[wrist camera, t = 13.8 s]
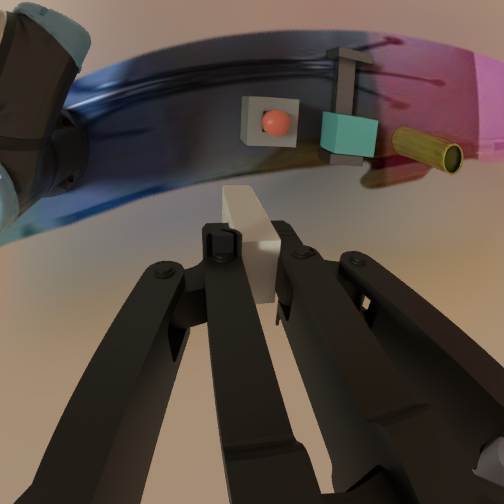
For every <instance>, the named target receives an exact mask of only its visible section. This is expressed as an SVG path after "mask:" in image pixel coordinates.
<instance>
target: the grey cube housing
mask: <svg viewBox="0 0 504 504" xmlns="http://www.w3.org/2000/svg"><path fill="white" fill-rule="evenodd" d="M269 110H280V111H283V112H285V113H286V114H287V115H288V116H289V118H290V122H291V125H290V128H289V130H288V132H287V133H286V134H284V135H282V136H278V137H276V136H272V135H270V134H268V133H266V132H265V131H264V130H263V128H262V125H261V120H262V117H263V115H264V114H265V113H266V112H267V111H269ZM298 113H299V100H297V99H286V98H273V97H256V96H242V107H241V132H240V139H241V140H242V141H243V142H244V143H245V144H246V145H247V146H279V147H296V139H297V126H298Z"/></svg>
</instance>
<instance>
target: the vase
mask: <svg viewBox="0 0 504 504" xmlns="http://www.w3.org/2000/svg"><path fill="white" fill-rule="evenodd" d="M392 144H393V148H394V150H395V151H396V153H397V154H399V155H401V156H406V157H409V158H411V159H414V160H416V161H419V162H422V163H425V164H427V165H429V166H432V167H434V168H437V169H439V170H442V171H444V172H446V173H448V174H450V175H454V174H456V173H457V172H458V171H459V170H460V168H461V166H462V163H463V152H462V149H461V147H460V146H459V145H457V144H455V143H452V142H449V141H447V140H444V139H441V138H438V137H435V136H432V135H429V134H426V133H423V132H421V131H418V130H415V129H412V128H410V127H408V126H401V127H399V128H398V129H397V130H396V131H395V132H394V135H393V139H392Z"/></svg>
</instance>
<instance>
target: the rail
mask: <svg viewBox="0 0 504 504" xmlns="http://www.w3.org/2000/svg"><path fill="white" fill-rule="evenodd" d="M326 59H329V60H334V73H333V88H332V101H331V112H332V113H338V114H345V115H352V105H353V93H354V79H355V65H368V64H372V63H373V55H370V54H367V53H363V52H359V51H355V50H351V49H347V48H343V47H337V48H333V49H330V50H326ZM318 157H319V158H320V159H322V160H324V161H326V162H327V163H329V164H340V165H352V166H362V163H363V157H362V156H357V155H348V154H337V153H333V152H331V151H329V150H327V149H323V148H319V154H318Z"/></svg>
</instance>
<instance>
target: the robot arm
mask: <svg viewBox="0 0 504 504" xmlns="http://www.w3.org/2000/svg"><path fill="white" fill-rule="evenodd" d="M90 45H91V39H90V35H89V33H88V32H87V31H86V30H85V29H84V28H83V27H82V26H81V25H79V24H78V23H76V22H75V21H73V20H72V19H70V18H68V17H67V16H65V15H63V14H61V13H59V12H56V11H54V10H51V9H47V8H45V7H43V6H41V5H38V4H35V3H30V2H22V3H20V4H19V5H18V6H17V7H15V8H14V10H13V12H8V11H3V10H0V233H1V232H2V231H3V230H4V229H6V228H8V227H10V226H12V225H13V224H14V223H15V221H16V220H17V219H18V218H19V217H20V216H21V215H22V214H23V213H24V212H25V211H27V210H28V209H29V208H30V207H31V206H32V205H34V204H35V203H36V202H37V201H38V200H40V199H41V198H45V197H54V196H57V195H60V194H62V193H64V192H65V191H67V190H68V189H69V188H71V187H72V186H73V185H74V184H75V183H76V182H77V181H78V180H79V178H80V177H81V175H82V174H83V172H84V170H85V167H86V164H87V160H88V152H89V147H88V139H87V135H86V132H85V130H84V127H83V126H82V124H81V122H80V121H79V120H78V119H77V118H76V117H75V116H74V115H73V114H72V113H70V112H68V111H66V110H63V109H62V107H63V105H64V102H65V100H66V98H67V95H68V93H69V91H70V88H71V86H72V84H73V82H74V80H75V77H76V75H77V74H78V73H80V71H81V68H82V66H81V65H82V63H83V61H84V59H85V57H86V55H87V53H88V50H89V48H90ZM222 199H223V201H222V223H207V224H205V226H204V227H203V228H202V241H203V260H202V261H201V262H200V263H199V264H198V265H196V266H194V267H192V268H189V269H185V270H184V268H183V266H182V265H181V264H179V263H177V262H173V261H161V262H157V263H154V264H152V265H150V266H149V267H148V268H147V269H146V270H145V272H144V273H143V275H142V276H141V278H140V279H139V281H138V282H137V284H136V285H135V287H134V289H133V290H132V292H131V293H130V295H129V297H128V298H127V300H126V301H125V303H124V305H123V306H122V308H121V310H120V311H119V313H118V314H117V316H116V318H115V319H114V321H113V323H112V324H111V326H110V328H109V329H108V331H107V333H106V334H105V336H104V338H103V340H102V341H101V343H100V345H99V346H98V348H97V350H96V352H95V354H94V355H93V357H92V359H91V361H90V362H89V364H88V366H87V368H86V370H85V372H84V373H83V375H82V377H81V379H80V381H79V383H78V385H77V387H76V389H75V391H74V392H73V394H72V396H71V398H70V400H69V402H68V404H67V407H66V408H65V410H64V412H63V415H62V416H61V418H60V421H59V423H58V425H57V427H56V429H55V431H54V433H53V436H52V438H51V440H50V442H49V444H48V447H47V449H46V451H45V453H44V456H43V458H42V461H41V463H40V465H39V468H38V470H37V473H36V475H35V477H34V480H33V483H32V484H31V486H30V487H29V488H28V489H27V490H26V491H25V492H24V493H23V494H22V495H21V496H20V497H19V498H18V499H17V500H16V501H15V502H14V504H140V502H141V499H142V495H143V491H144V487H145V483H146V479H147V476H148V472H149V468H150V464H151V461H152V457H153V454H154V450H155V446H156V443H157V439H158V436H159V432H160V429H161V425H162V422H163V419H164V415H165V412H166V408H167V405H168V402H169V398H170V395H171V391H172V388H173V385H174V382H175V379H176V375H177V372H178V369H179V366H180V362H181V359H182V356H183V353H184V350H185V347H186V344H187V340H188V337H189V334H190V327H193V326H196V325H199V324H203V323H206V322H207V326H208V337H209V348H210V358H211V369H212V378H213V387H214V396H215V405H216V412H217V421H218V429H219V436H220V443H221V450H222V457H223V464H224V470H225V477H226V483H227V490H228V496H229V502H230V504H504V368H503V367H502V366H501V365H500V364H499V363H498V362H497V361H496V360H495V359H493V357H491V356H490V355H489V354H488V353H487V352H486V351H485V350H484V349H483V348H482V347H480V346H479V345H478V344H477V343H476V342H475V341H474V340H473V339H471V338H470V337H469V336H468V335H467V334H466V333H464V332H463V331H462V330H461V329H460V328H459V327H458V326H456V325H455V324H454V323H453V322H452V321H451V320H449V319H448V318H447V317H446V316H444V315H443V314H442V313H441V312H440V311H438V310H437V309H436V308H435V307H434V306H433V305H431V304H430V303H429V302H427V301H426V300H425V299H424V298H423V297H421V296H420V295H419V294H418V293H416V292H415V291H414V290H413V289H411V288H410V287H409V286H407V285H406V284H405V283H404V282H402V281H401V280H400V279H399V278H397V277H396V276H395V275H393V274H392V273H390V272H389V271H388V270H387V269H385V268H384V267H383V266H381V265H380V264H379V263H378V262H376V261H375V260H374V259H372V258H371V257H369V256H367V255H366V254H363V253H361V252H358V251H357V252H356V251H349V252H345V253H343V254H342V255H341V257H340V262H336V261H328V260H324V259H323V258H322V256H321V255H320V254H319V252H318V251H317V250H315V249H314V248H312V247H309V246H305V245H303V243H302V242H301V240H300V239H299V237H298V236H297V234H296V233H295V231H294V230H293V228H292V227H291V225H290V224H288V223H286V222H285V221H270V220H269V218H268V216H267V214H266V212H265V211H264V209H263V207H262V205H261V203H260V202H259V200H258V198H257V196H256V195H255V193H254V191H253V189H252V188H251V186H250V185H234V186H232V185H231V186H223V195H222ZM275 292H276V293H277V296H278V298H279V299H278V307H277V315H276V325H279V320H280V319H281V321H282V324H283V327H284V330H285V332H286V335H287V338H288V340H289V344H290V346H291V349H292V352H293V355H294V358H295V360H296V363H297V366H298V369H299V372H300V374H301V377H302V380H303V383H304V386H305V388H306V391H307V394H308V397H309V400H310V402H311V405H312V408H313V411H314V413H315V417H316V419H317V422H318V425H319V428H320V431H321V434H322V436H323V439H324V442H325V445H326V448H327V450H328V453H329V456H330V459H331V463H332V484H333V488H334V492H335V493H329V494H321V491H320V488H319V485H318V482H317V479H316V476H315V473H314V470H313V467H312V463H311V460H310V458H309V455H308V453H307V450H306V448H305V447H304V446H303V444H302V443H300V442H298V441H296V439H295V437H294V435H293V432H292V429H291V425H290V422H289V419H288V415H287V412H286V408H285V405H284V402H283V398H282V395H281V392H280V388H279V385H278V382H277V378H276V375H275V371H274V368H273V365H272V361H271V357H270V354H269V350H268V347H267V344H266V340H265V337H264V333H263V330H262V326H261V323H260V319H259V316H258V312H257V309H256V305H255V304H262V303H274V301H275ZM365 296H366V297H367V298H369V300H371V301H370V304H369V307H368V309H365V308H364V307H363V306H362V305H363V302H364V298H365ZM472 469H473V470H474V471H473V470H472Z"/></svg>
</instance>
